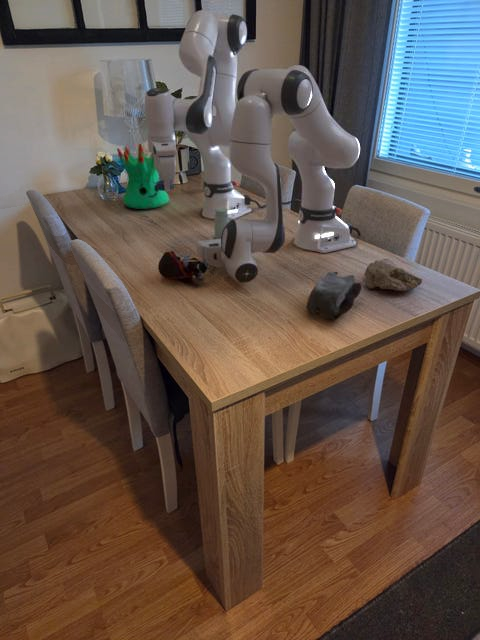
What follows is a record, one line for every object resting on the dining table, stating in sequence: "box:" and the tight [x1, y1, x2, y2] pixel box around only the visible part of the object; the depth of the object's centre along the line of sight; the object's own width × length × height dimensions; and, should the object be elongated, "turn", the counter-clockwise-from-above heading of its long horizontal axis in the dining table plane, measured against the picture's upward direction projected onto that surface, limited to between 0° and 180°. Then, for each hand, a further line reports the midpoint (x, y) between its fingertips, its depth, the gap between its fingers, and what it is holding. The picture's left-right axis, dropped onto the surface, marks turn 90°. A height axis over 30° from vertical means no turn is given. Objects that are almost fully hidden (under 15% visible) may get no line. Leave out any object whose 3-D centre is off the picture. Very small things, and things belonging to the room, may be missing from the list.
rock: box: [305, 271, 362, 321], centre depth 121 cm, size 18×11×8 cm, turn 152°
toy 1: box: [116, 142, 170, 210], centre depth 197 cm, size 20×20×25 cm
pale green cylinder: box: [213, 208, 230, 239], centre depth 151 cm, size 5×5×16 cm
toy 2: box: [157, 250, 209, 286], centre depth 136 cm, size 12×9×15 cm
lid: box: [157, 180, 175, 191], centre depth 149 cm, size 6×6×2 cm
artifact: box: [364, 258, 423, 292], centre depth 135 cm, size 18×7×15 cm
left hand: (165, 188), depth 149 cm, fingers closed on lid, 5 cm apart
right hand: (221, 237), depth 153 cm, fingers closed on pale green cylinder, 5 cm apart
